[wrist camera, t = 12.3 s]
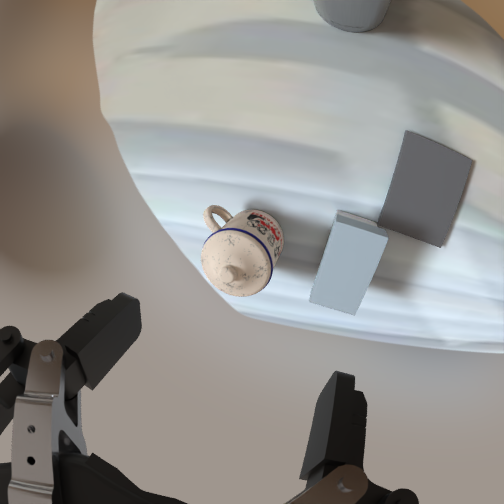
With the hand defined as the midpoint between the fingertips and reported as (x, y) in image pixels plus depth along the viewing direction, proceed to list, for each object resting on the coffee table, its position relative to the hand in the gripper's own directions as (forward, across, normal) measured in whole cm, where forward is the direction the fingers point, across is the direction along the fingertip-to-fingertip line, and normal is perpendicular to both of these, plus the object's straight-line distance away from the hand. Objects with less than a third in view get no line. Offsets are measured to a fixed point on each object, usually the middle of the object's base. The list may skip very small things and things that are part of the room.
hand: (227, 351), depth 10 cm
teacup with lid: (+30, +7, +9) cm, 32 cm away
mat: (+30, -15, -4) cm, 34 cm away
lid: (+25, -7, +7) cm, 27 cm away
